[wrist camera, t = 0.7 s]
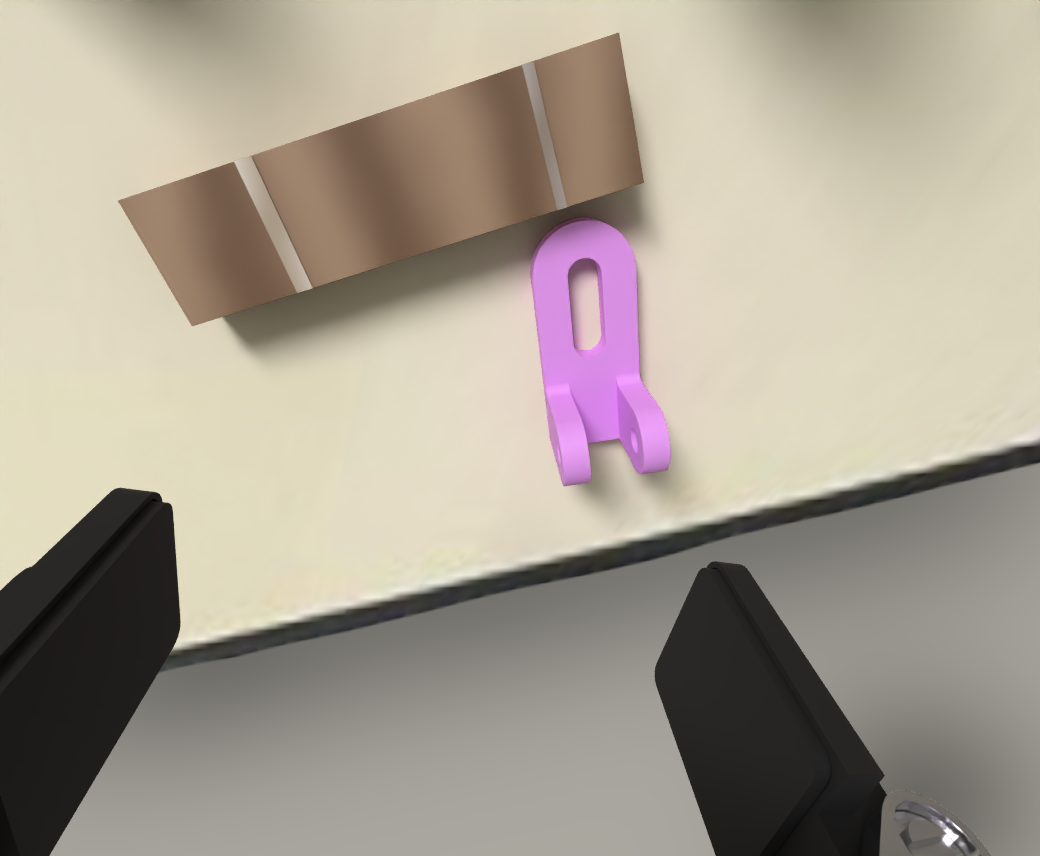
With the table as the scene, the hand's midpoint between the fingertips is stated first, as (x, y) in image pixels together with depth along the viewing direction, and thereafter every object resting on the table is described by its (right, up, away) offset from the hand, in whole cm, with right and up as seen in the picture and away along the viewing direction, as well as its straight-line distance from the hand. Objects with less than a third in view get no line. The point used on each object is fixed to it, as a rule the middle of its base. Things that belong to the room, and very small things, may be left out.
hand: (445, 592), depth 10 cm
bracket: (+5, +9, +23) cm, 25 cm away
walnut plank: (-5, +15, +18) cm, 24 cm away
